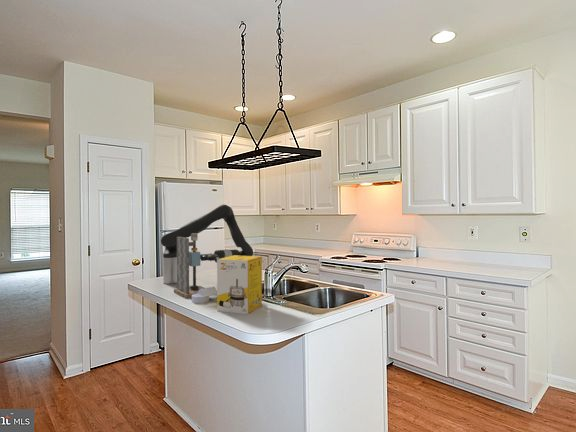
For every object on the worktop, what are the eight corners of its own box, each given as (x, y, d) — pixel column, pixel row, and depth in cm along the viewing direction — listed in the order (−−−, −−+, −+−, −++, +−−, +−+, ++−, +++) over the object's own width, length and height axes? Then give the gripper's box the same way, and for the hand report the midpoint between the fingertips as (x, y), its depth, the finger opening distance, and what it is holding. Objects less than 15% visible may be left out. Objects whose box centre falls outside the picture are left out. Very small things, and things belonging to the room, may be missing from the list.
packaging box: (217, 311, 171) (216, 259, 171) (233, 302, 187) (233, 255, 186) (247, 314, 166) (247, 260, 166) (261, 305, 181) (261, 256, 181)
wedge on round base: (210, 297, 199) (188, 301, 191) (210, 285, 199) (188, 288, 191) (218, 300, 192) (196, 304, 184) (218, 287, 192) (196, 291, 184)
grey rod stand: (174, 292, 210) (173, 233, 210) (199, 288, 220) (199, 232, 219) (185, 298, 196) (185, 235, 195) (212, 294, 206) (212, 233, 205)
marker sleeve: (188, 265, 209) (188, 251, 209) (196, 264, 212) (196, 251, 212) (191, 266, 205) (191, 252, 205) (200, 265, 208) (200, 251, 208)
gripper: (217, 248, 225) (193, 250, 215) (228, 250, 214) (202, 252, 204) (217, 260, 225) (193, 263, 215) (228, 263, 214) (203, 266, 204)
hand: (198, 258), depth 210 cm, fingers open, 8 cm apart
